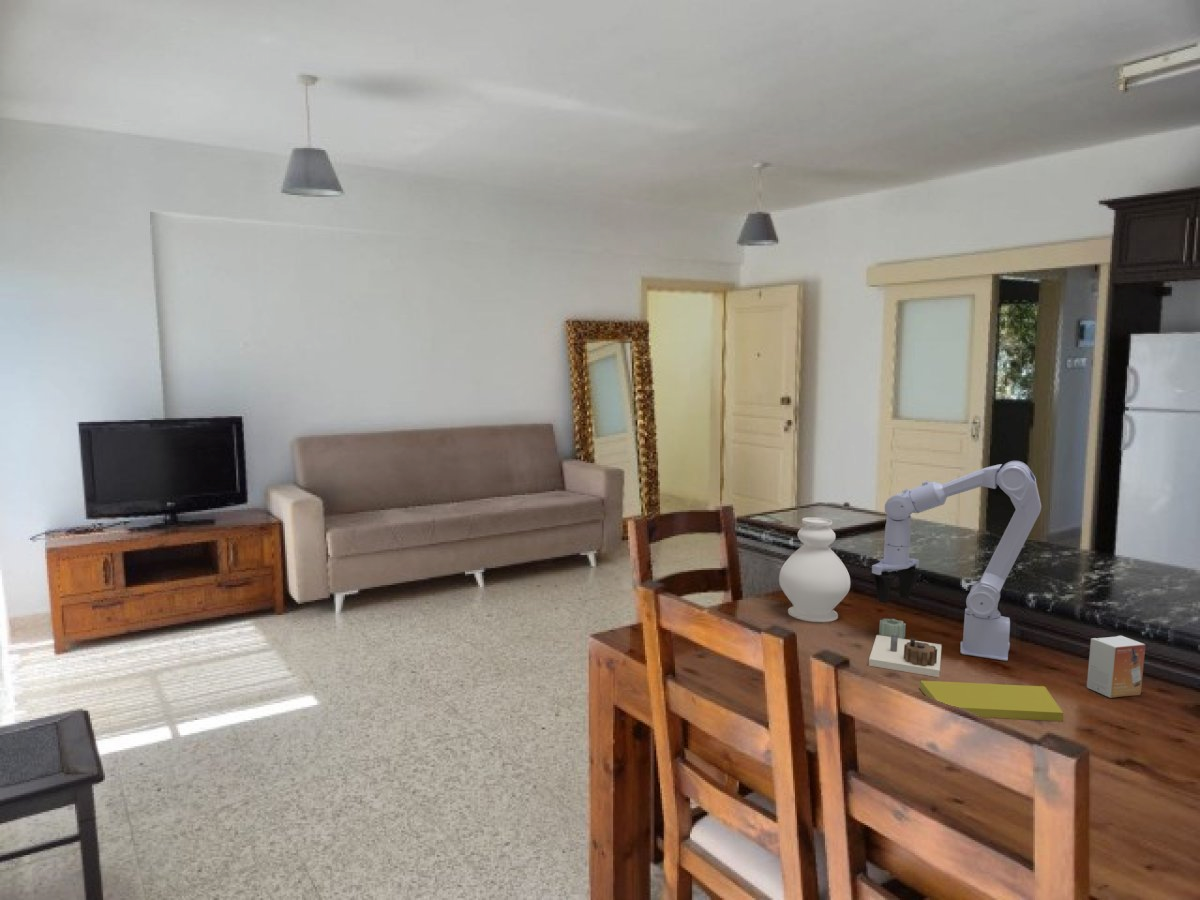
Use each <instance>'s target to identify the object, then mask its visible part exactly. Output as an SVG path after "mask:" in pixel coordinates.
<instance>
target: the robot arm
mask: <svg viewBox="0 0 1200 900" xmlns="http://www.w3.org/2000/svg"><path fill="white" fill-rule="evenodd" d="M998 486H999V488H1000V489H1001V490H1002V491H1003V492H1004V493H1005V495H1007V496H1008V497H1009V498H1010V501H1011V503H1012V505H1013V506H1014V508H1015V511H1014V512H1013V515H1012V517H1011V518H1010V521H1009V522H1008V525H1007V526H1006V528H1005V530H1004V532H1003V535H1002V537H1001V538H1000V539H999V542H998V544H997V547H996V548H995V551H994V553H993V555H992V556H991V558H990V560H989V562H988V564H987V566H986V568H985V570H984V572H983V573H982V575H981V578H980V579H979V580H978V581H975V583H973V585H971V587H970V590H969V593H968V595H967V597H966V601H965V603H966V607H965V609H964V621H963V635H962V636H963V637H962V641H960V654H962V655H966V656H973V657H979V658H985V659H992V660H998V661H999V660H1000V661H1005V662H1007V661H1008V659H1009V651H1010V647H1011V642H1010V634H1011V633H1010V632H1011V620H1010V617H1008V616H1002V615H1001V611H999V609H998V606H999V602H1000V599H1001V590H1002V589H1003V586H1004V584H1005V582H1006V580H1007V578H1008V576H1009V574H1010V572H1011V570H1012V568H1013V566H1014V565H1015V562H1016V560H1017V558H1018V556H1019V555H1020V553H1021V551H1022V549H1023V547H1024V544H1025V543H1026V541H1027V539H1028V537H1029V535H1030V533H1031V531H1032V530H1033V527H1034V525H1035V523H1036V522H1037V520H1038V518H1039V516H1040V514H1041V511H1042V503H1041V498H1040V497H1041V496H1040V494H1039V488H1038V484H1037V479H1036V476H1035V474H1034V472H1033V471H1032V470H1031V468H1030V467H1029V466H1028V465H1027V464H1026V463H1024V462H1023V461H1020V460H1011V461H1008V462H1006V463H1004V464H1003V463H1002V464H1001V463H1000V464H996V465H991V466H987V467H984V468H981V469H978V470H975V471H973V472H970V473H968V474H966V475H963V476H960V477H958V478H955V479H953V480H950V481H947V482H944V483H939V482H937V481H930V482H929V480H925V481H922V483H921V485H919V486H916V487H913V488H911V489H909V490H908V489H907V488H905V489H903V490H902V491H901V492H902V493H900V492H899V493H896V494H893V495H892V496H890V497H889V498H888V499H887V500H886V501H885V503H884V512H885V514H886V518H885V520H886V522H885V527H884V541H883V542H884V544H883V545H884V546H883V558H880V559H879V562H877V563H875V564H872V565H871V571H870V572H869V575H870V577H871V579H872V581H873V584H874V585H875V590H876V593H877V598H878V602H880V603H882V604H888V603H889V600H890V592H891V588H892V584H893V583H894V580H895V579H896V578H895V576H893V575H890V573H891V572H896V573H897V577H898V593H899V597H900V598H903V599H906V600H908V599H909V598H910V595H911V593H912V590H913V587H914V584H915V583H916V582H917V580H918V578H919V577H920V575H921V570H920V569H918V568H920V567H919V566H920V559H916V558H913V557H910V553H911V535H912V523H911V522H912V521H911V520H912V514H913V513H914V514H920V513H922V512H926V511H929V510H931V509H934V508H937V507H940V506H944V505H945V503H946V501H947V498H948V497H949V498H950V497H952V496H956V495H958V494H961V493H964V492H967V491H971V490H974V489H978V488H980V487H985V488H989V489H994V490H996V489H997V488H998Z"/></svg>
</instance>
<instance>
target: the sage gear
mask: <svg viewBox="0 0 1200 900" xmlns="http://www.w3.org/2000/svg"><path fill="white" fill-rule="evenodd" d="M906 624H907V623H904V621H903V620H899V619H898V620H897V619H896V618H887V617H886V618H882V619H880V620H879V628H878V629H879V631H878V635H881V636H888V637H891V635H892V634H893V633H896V634H897V635H898V638H901V639H906Z"/></svg>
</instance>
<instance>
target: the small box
mask: <svg viewBox="0 0 1200 900" xmlns="http://www.w3.org/2000/svg"><path fill="white" fill-rule="evenodd" d="M1089 647H1090V648H1089V658H1088V669H1087V679H1086V688H1087V689H1089V690H1091V691H1094V692H1095V693H1096V692H1097V693H1099V694H1101V695H1103V696H1105V697H1107V698H1109V699H1113V698H1119V697H1129V696H1130V697H1131V696H1141V693H1142V684H1143V673H1144V663H1145V655H1146V654H1145V653H1146V644H1145V643H1143V642H1139V641H1137V640H1135V639H1132V638H1129V637H1126V636H1123V635H1117V636H1109V637H1097V638H1096V637H1093V638H1090V645H1089Z"/></svg>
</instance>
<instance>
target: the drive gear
mask: <svg viewBox="0 0 1200 900" xmlns="http://www.w3.org/2000/svg"><path fill="white" fill-rule="evenodd" d="M909 640H910V642H908V643H907V644H905V645H904V658H905V661H907V662H912V664H915V665H917V664H919V665H922V666H927V665H931V666H933V665H934V663H936V662H937V649H936V647H935V646H930V645H929V644H927V643H928V642H927V643H920V642H915V641H916V638H914V637H910V639H909Z"/></svg>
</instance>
